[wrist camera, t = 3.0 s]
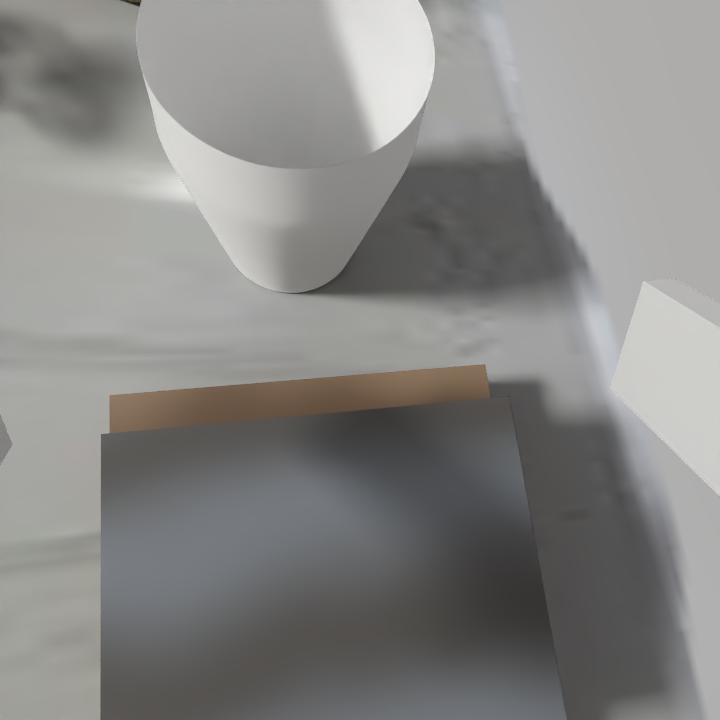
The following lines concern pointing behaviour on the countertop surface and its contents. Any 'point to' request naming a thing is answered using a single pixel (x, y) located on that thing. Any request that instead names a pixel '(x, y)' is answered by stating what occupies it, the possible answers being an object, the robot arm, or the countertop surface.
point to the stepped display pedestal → (321, 554)
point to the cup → (287, 120)
